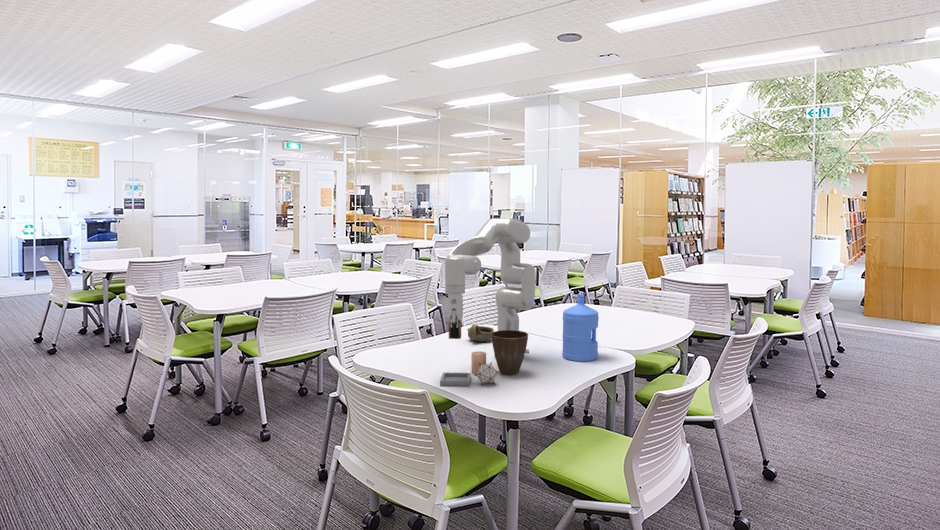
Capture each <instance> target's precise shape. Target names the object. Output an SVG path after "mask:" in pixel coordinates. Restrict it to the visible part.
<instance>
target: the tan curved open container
mask: <svg viewBox="0 0 940 530" xmlns="http://www.w3.org/2000/svg"><path fill="white" fill-rule="evenodd" d="M466 331H467V336H468V338H469V339H470V340H473V341H475V342H480V343H481V342H488V341H489V340H492V336H491V333H493V332H495V329H494V328H492V327H489V326H486V325H485V326H484V325H483V326H482V325H478V324H475V323H473V324H472V325H471V326H470V327H468V328H466Z"/></svg>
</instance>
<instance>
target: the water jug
mask: <svg viewBox="0 0 940 530" xmlns="http://www.w3.org/2000/svg"><path fill="white" fill-rule="evenodd" d="M576 297H577V299H576V301H577V303H576V304H575V305H572V306H570V307H568V308H566V309H564V310H563V312H562V351H561V352H562V357H563V358H564V359H566V360H568V361H572V362H592V361H595V360H597V359H598V358H599V351H598V349H599V342H598V341H597V329H598V328H599V312H598V311H597V310H596V309H594V308H592V307H590V306H588V305H586V304H585V294H584V295H583V294H578V295H576Z"/></svg>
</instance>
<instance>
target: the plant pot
mask: <svg viewBox="0 0 940 530" xmlns="http://www.w3.org/2000/svg"><path fill="white" fill-rule="evenodd" d="M491 336H492V339H491V341H492V349H493V354H495V356H494V358H495V360H496V364H497V368H498V370H499V373H500V374H502V375H505V376H512V375H513V376H514V375H517V374H519V372H520V369H521V367H522V365H523V361H524V358H525V355H526V353H525V351H526V349H527V345H528V340H529V339H528V338H529V333H528V332H525V331H521V330H519V331H515V330H501V331H498V330H496V331H495V330H494V332H493V333H491Z"/></svg>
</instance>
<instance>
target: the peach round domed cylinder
mask: <svg viewBox="0 0 940 530" xmlns="http://www.w3.org/2000/svg"><path fill="white" fill-rule="evenodd" d="M470 363H471V374H473V375H476V374H477V372H478V369H479V367H480V365H479V363H480V364H481V365H482V364H487V352H485V351H480V350H479V351H478V350H477V351H472V352H471V362H470Z"/></svg>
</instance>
